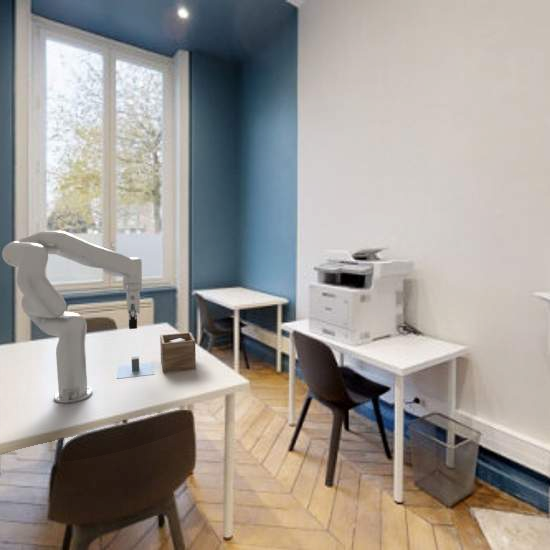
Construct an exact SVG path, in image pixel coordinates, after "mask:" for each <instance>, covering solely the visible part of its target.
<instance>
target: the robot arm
mask: <svg viewBox="0 0 550 550" xmlns="http://www.w3.org/2000/svg"><path fill="white" fill-rule="evenodd" d="M1 255H2V256H1V257H2V259H3V261H4V262H5V263H6V264H7V265H9V266H11V267H15V268H18V269H17V274H16V283H17V287H18V289H19V291H20V292H21V293H22V295H23V296H22V298H21V308H22V311H23V312H24V313H25V314H26V316H27V317H28V318H29V319H30V320H31V321H32V322H33V323H34V324H35V325H36V326H37V327H38V328H39V330H41V331H42V332H44V334H47V335H49V336H52V337H53V336H54V337H57V338H58V341H57V345H56V350H55V355H56V356H55V357H56V371H57V386H58V387H57V388H58V391H57V392H56V393H55V394H54V396H53V399H54V401H55V402H57V403H61V404H69V403H70V404H71V403H76V402H80V401H83V400H86V399H87V398H89V397H90V396H92V394H93V389H92V388H91V387H90V386H88V377H87V376H88V375H87V357H86V356H87V355H86V335H87V329H88V324H87V320H86V318H85V317H84V316H82V315H81V314H79V313H77V312H72V311H67V302H66V300H65V299H64V297H63V295H61V293H60V292H58V290H57V289H56V287H55V286H54V285H53V284H52V283H51V282H50V280H49V279H48V277H47V274H46V267H47V264H48V260H49V255H57V256H58V257H62V258H65V259H68V260H70V261H72V262H75V263H77V264H80V265H82V266H86V267H89V268H96V269H102V271H103V272H104V274H106V275H108V276H111V277H121V278H122V286H123V288H122V290H123V291H124V292H125V293H126V294H125V295H126V309H127V314H128V328H129V330H137V329H138V315H139V314H140V313H141V305H140V304H141V301H140V300H141V296H140V295H141V294H140V291H142V290H143V282H142V281H143V271H142V270H143V269H142V268H143V263H142V259H141V258H140V257H128V256H126V255H123V254H122V253H119V252H116V251H114V250H110V249H107V248H104V247H102V246H99V245H96V244H93V243H91V242H88V241H86V240H84V239H83V238H79V237H78V236H75V235H73V234H71V233H69V232H67V231H63V230H44V231H40V232H37V233H34V234H31V235H28V236H25V237H23V238H20V239H17V240H14V241H13V240H12V241H11V242H9V243H7V244H6V245H5V246H4V247H3V250H2V251H1Z"/></svg>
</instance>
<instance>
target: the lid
mask: <svg viewBox="0 0 550 550" xmlns="http://www.w3.org/2000/svg"><path fill="white" fill-rule="evenodd" d="M116 372H117V373H116V380H117V379H118V380H119V379H125V378H127V379H129V378H135V377H145V376H146V377H147V376H154V375H155V368H154V361H153V362H143V363H140V356H139V355H138V356H133V357H132V356H131V364H126V365H125V364H124V365H118V366H117V371H116Z"/></svg>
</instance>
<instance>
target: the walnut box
mask: <svg viewBox="0 0 550 550" xmlns="http://www.w3.org/2000/svg"><path fill="white" fill-rule="evenodd" d="M159 337H160V338H159V341H160V364H161V369H162V374H166V373H173V372H175V373H177V372H183V371H191V370H192V371H193V370H197V368H196V366H197V365H196V364H197V363H196V357H197V356H196V339H195V338H194V335H193V333H192V332H181V333H170V334H160V335H159ZM178 338H181V339H185V341H180V342H169V341H171V340H175V339H178Z"/></svg>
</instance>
